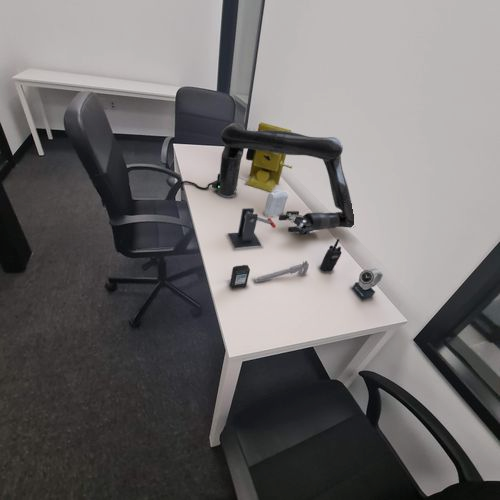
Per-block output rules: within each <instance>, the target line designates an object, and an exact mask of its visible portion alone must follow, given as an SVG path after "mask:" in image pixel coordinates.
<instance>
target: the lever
mask: <svg viewBox="0 0 500 500" xmlns="http://www.w3.org/2000/svg"><path fill="white" fill-rule="evenodd" d="M246 214H254V212H253V213H252V212H249V211H247V212H246V213H245V215H244V217H246ZM257 221H258V222H261V223H265V224H267V225H270V226H271V228H272V229H275V228H276V227H277V226H276V224H275V223H274V221H273V220H272V218H270V217H268V218H267V219H266V218H262V217H259V216H258V218H257Z"/></svg>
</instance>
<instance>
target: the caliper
mask: <svg viewBox="0 0 500 500" xmlns="http://www.w3.org/2000/svg"><path fill="white" fill-rule="evenodd" d="M308 270H309V262H308V260H305V261H302V263H299V264H296V265H293V266H290V267H289V268H286V269H285V268H284V269H283V270H282V269H281V270H278V271H275V272H272V273H268V274H265V275H262V276H258V277H257V278H255V279H253V280H254V283H260V282H264V281H268V280H272V279H274V278H275V279H276V278H278V277H281V276H284V275H287V274H290V275H292V274H296V273H299V275H300V276H302V274H304V275H306V274H307V272H308Z"/></svg>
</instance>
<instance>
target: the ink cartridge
mask: <svg viewBox="0 0 500 500" xmlns="http://www.w3.org/2000/svg"><path fill="white" fill-rule="evenodd" d="M231 269H232V270H231V275H230V276H231V277H230V282H229V284H230V287H231V289H232V290H235V289H240V288H241V289H242V288H246V287H247V283H248V280H249V276H250V271H251V269H250V267H249V265H248V264H242V265H235V266H233V267H232V268H231Z"/></svg>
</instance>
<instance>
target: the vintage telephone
mask: <svg viewBox="0 0 500 500" xmlns="http://www.w3.org/2000/svg"><path fill="white" fill-rule="evenodd" d="M264 130H280V131H288V132H292V130H291V129H288V128H284V127H280V126H277V125H273V124H268V123H265V122H260V123H258V128H257V131H264ZM253 131H256V130H255V129H253ZM286 157H287V155H284V154H277V153H271V152H265V151H260V150H255V149H247V150H246V155H245V160H247V161H248V162H249V161H250V162H251V165H250V171H249V178H248V180H246V179H244V178H242V177H240V176H238V179H241V180H244V181H246V182H245V185H246V186H250V187H252V188H256V189H259V190H262V191H266V192H269V193H271V192H273V190H274V188H275V186H276V185H279V184H280V180H281V175H282V173H283V168H284V167H286V168H288V169H292V168H293V165H289V164H286V163H285V160H286Z"/></svg>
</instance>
